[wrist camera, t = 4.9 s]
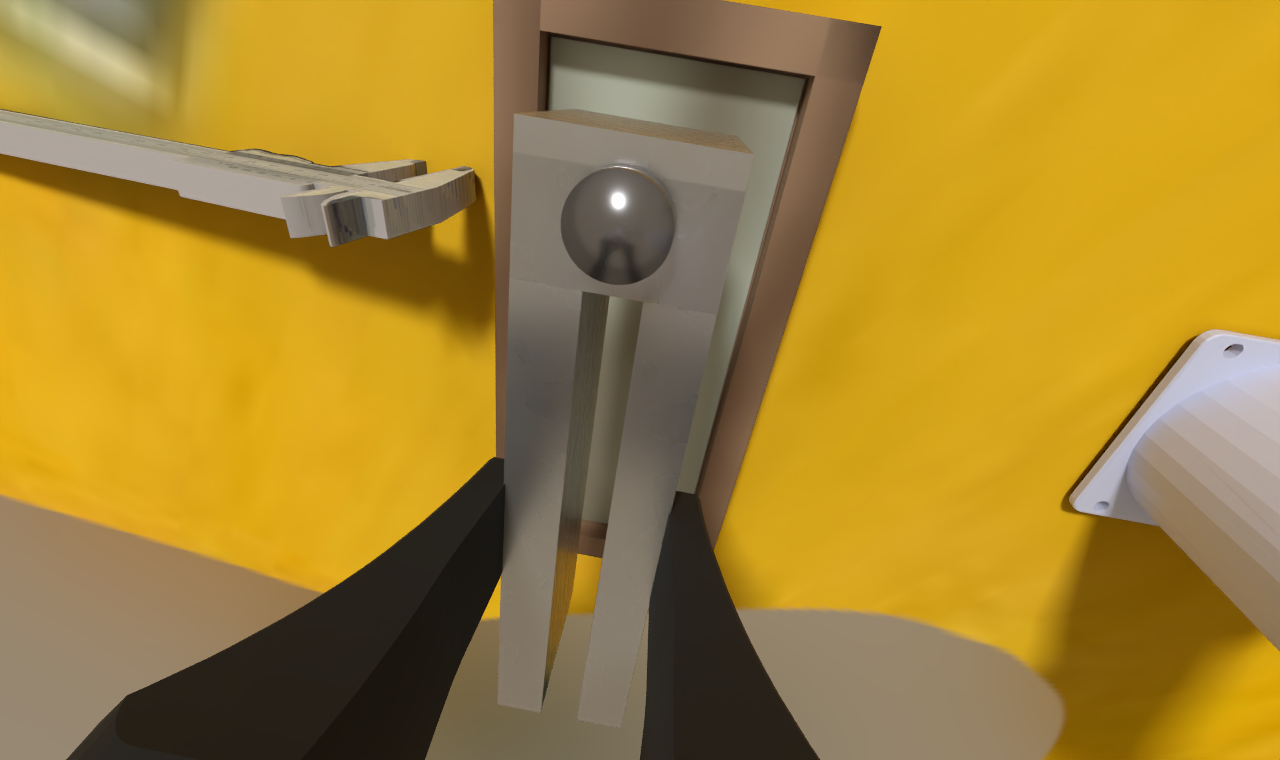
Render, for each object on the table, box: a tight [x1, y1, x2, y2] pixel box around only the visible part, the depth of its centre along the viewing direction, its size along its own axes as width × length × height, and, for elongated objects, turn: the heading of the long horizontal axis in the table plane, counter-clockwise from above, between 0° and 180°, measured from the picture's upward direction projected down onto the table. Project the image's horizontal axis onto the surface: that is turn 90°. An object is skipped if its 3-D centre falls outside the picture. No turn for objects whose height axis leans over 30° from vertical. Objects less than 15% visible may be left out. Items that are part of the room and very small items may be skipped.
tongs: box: [498, 109, 755, 728], centre depth 12 cm, size 3×14×5 cm, turn 172°
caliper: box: [0, 109, 476, 247], centre depth 15 cm, size 20×1×6 cm, turn 84°
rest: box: [493, 0, 882, 558], centre depth 19 cm, size 9×20×2 cm, turn 172°
